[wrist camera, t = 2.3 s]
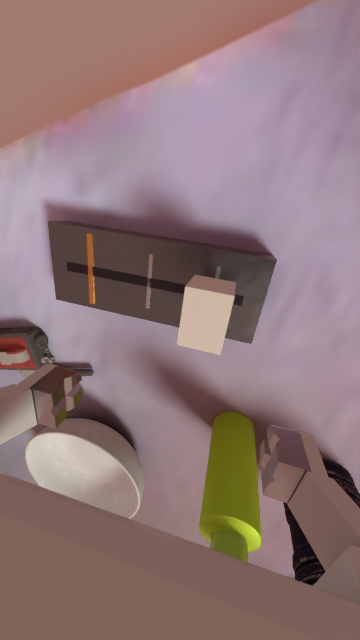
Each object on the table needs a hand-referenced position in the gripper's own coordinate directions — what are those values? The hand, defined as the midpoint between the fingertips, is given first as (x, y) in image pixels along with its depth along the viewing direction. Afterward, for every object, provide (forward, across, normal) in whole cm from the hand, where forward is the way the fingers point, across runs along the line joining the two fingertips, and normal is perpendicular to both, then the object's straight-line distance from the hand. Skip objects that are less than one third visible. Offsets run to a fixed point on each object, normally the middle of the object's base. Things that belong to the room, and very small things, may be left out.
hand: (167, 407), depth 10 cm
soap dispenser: (+19, -6, +20) cm, 28 cm away
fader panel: (+19, +7, 0) cm, 20 cm away
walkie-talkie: (+20, +26, +16) cm, 36 cm away
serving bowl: (+20, +14, +34) cm, 42 cm away
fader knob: (+16, 0, 0) cm, 16 cm away
